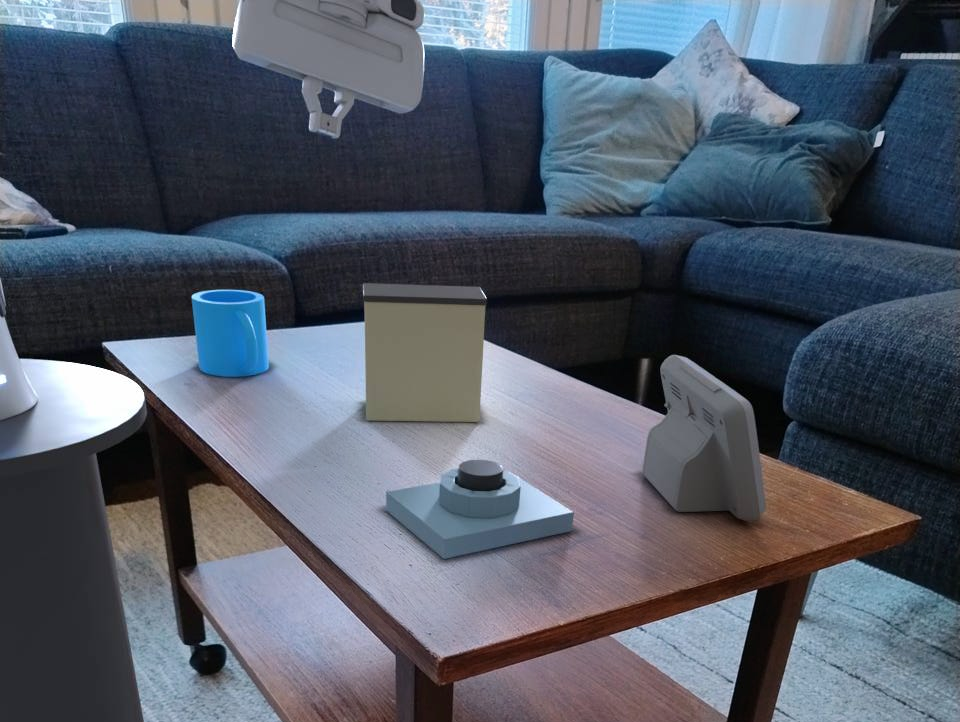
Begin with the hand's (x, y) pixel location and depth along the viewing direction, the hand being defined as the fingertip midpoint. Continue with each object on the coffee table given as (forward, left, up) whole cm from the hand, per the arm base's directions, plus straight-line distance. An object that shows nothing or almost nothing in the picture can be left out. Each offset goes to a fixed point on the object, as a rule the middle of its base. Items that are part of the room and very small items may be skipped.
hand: (324, 134), depth 96 cm
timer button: (-6, -45, -22) cm, 51 cm away
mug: (-10, +4, -26) cm, 28 cm away
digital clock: (+16, -48, -26) cm, 57 cm away
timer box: (-6, -45, -25) cm, 52 cm away
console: (+3, -18, -25) cm, 31 cm away
